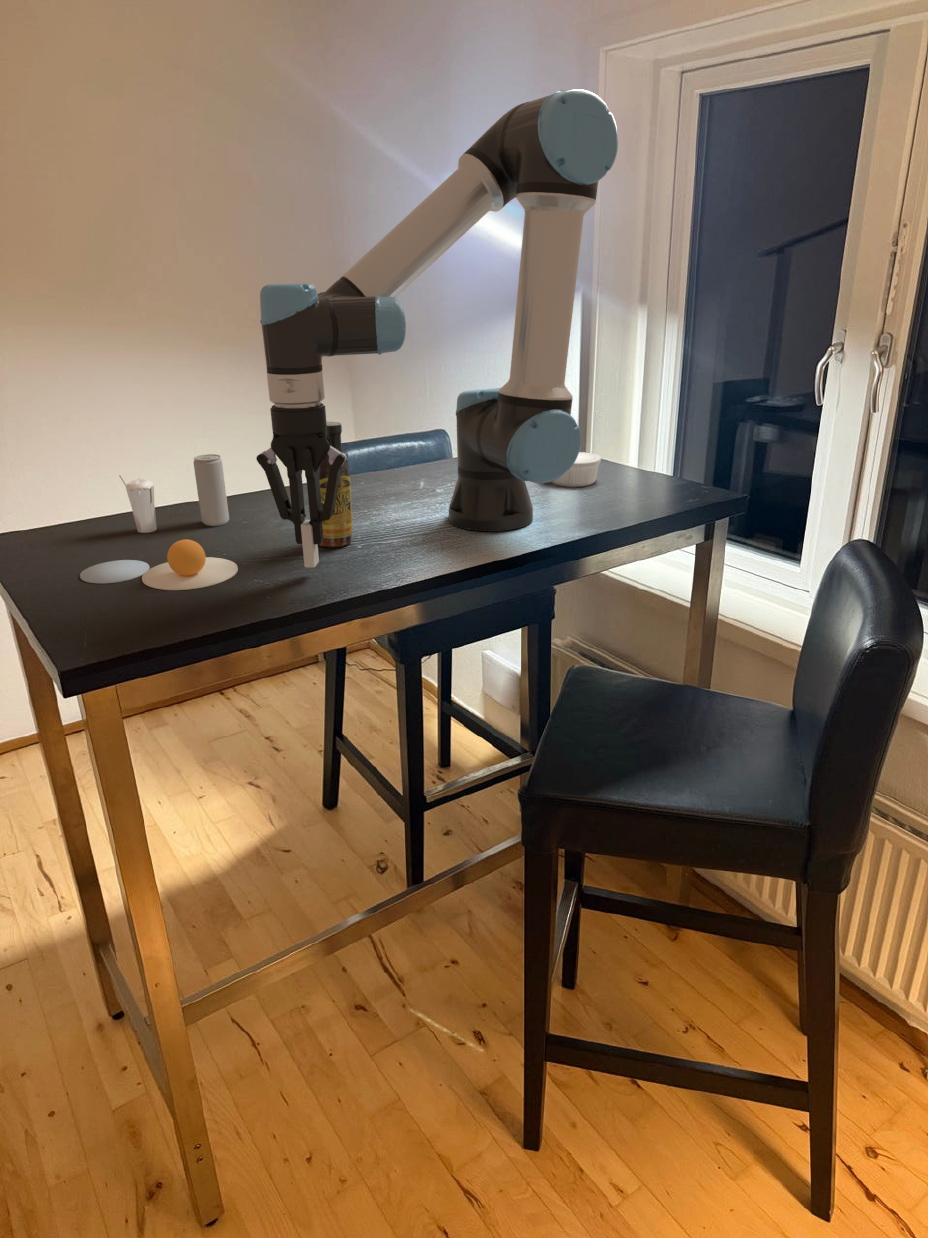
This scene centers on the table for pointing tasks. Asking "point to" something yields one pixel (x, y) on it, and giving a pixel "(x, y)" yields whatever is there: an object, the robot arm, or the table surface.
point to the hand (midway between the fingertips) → (311, 564)
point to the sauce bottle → (341, 521)
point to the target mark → (208, 576)
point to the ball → (186, 557)
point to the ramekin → (581, 471)
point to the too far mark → (114, 571)
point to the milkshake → (142, 504)
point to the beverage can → (211, 489)
